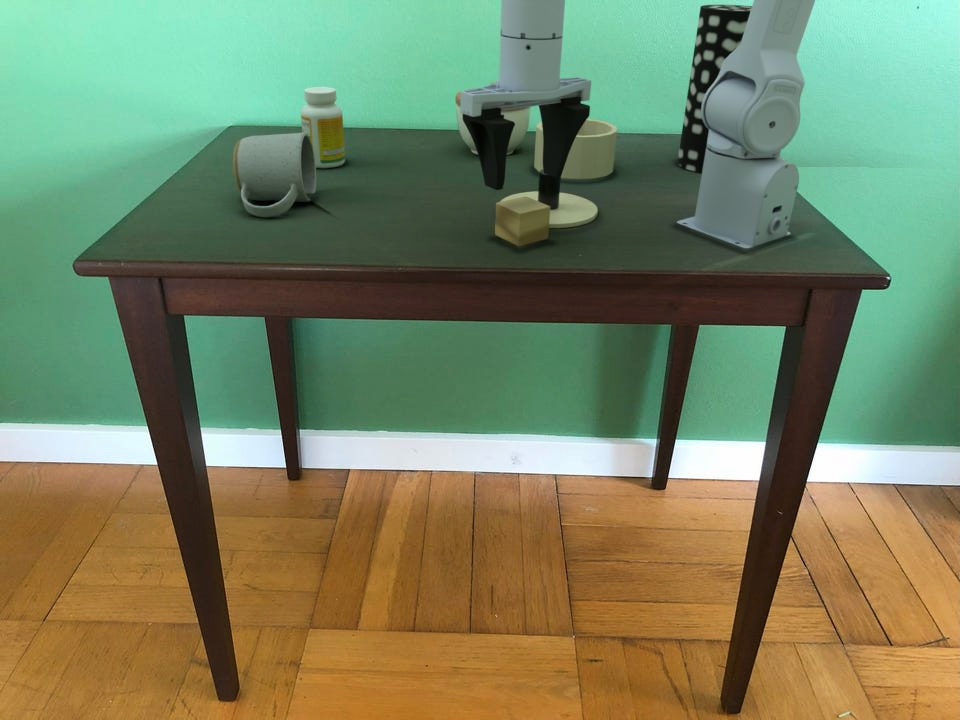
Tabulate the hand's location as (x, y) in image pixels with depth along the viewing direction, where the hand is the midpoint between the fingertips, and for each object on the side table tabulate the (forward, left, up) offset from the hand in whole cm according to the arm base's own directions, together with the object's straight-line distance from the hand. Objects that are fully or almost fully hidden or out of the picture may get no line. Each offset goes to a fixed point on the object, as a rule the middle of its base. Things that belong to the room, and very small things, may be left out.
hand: (523, 181), depth 77 cm
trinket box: (+30, -19, -7) cm, 36 cm away
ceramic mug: (+25, +16, -7) cm, 30 cm away
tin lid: (+4, -8, -6) cm, 11 cm away
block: (0, 0, -6) cm, 6 cm away
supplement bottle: (+37, +4, -7) cm, 38 cm away
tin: (+16, -22, -6) cm, 28 cm away
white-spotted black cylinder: (+8, -40, -7) cm, 41 cm away
